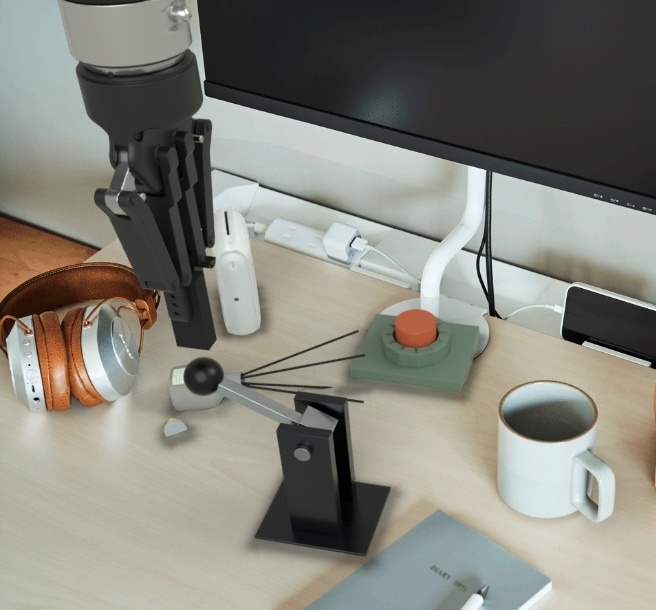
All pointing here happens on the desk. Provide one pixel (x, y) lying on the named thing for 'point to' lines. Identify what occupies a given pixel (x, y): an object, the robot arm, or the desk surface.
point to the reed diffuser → (190, 401)
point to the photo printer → (235, 273)
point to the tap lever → (248, 395)
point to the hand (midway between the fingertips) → (197, 342)
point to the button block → (417, 356)
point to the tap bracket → (322, 486)
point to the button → (415, 328)
